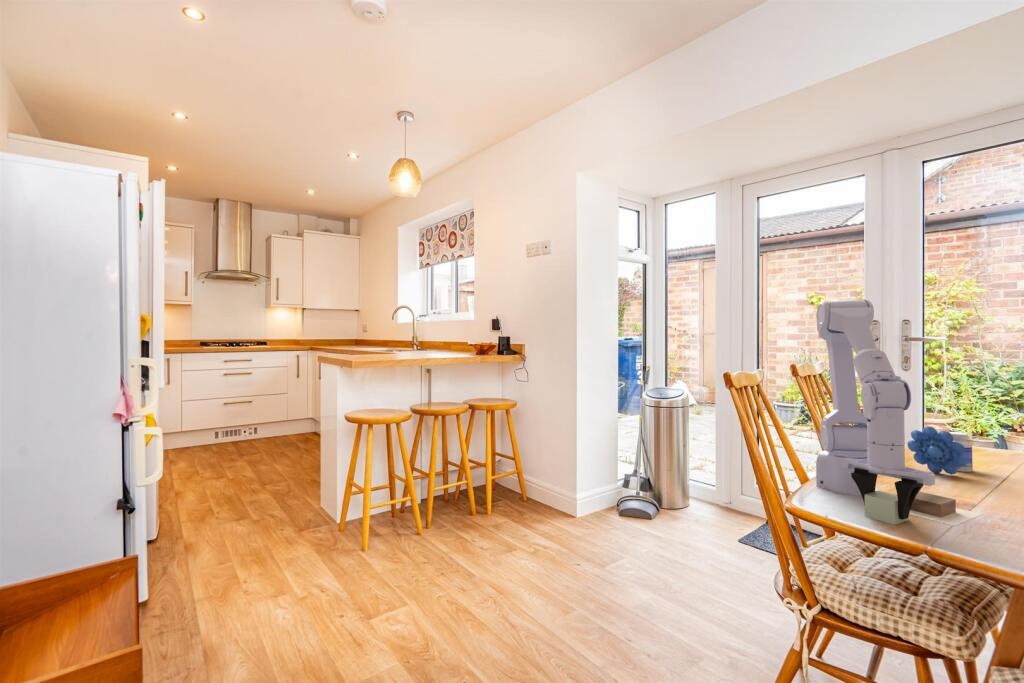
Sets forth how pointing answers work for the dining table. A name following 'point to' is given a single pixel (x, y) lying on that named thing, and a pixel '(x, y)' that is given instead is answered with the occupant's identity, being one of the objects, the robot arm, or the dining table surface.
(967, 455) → the pill bottle
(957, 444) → the blue flower
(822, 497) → the dining table surface
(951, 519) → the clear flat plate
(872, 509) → the sage block
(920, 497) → the walnut base block
